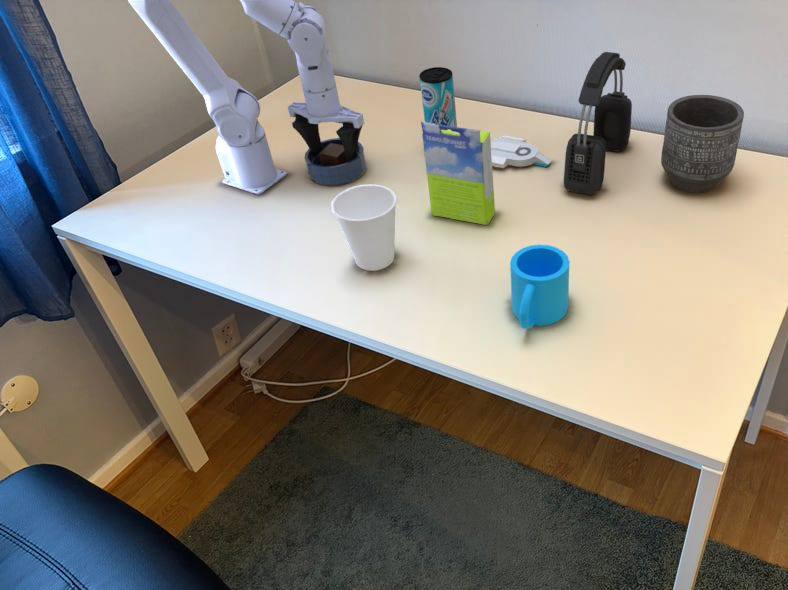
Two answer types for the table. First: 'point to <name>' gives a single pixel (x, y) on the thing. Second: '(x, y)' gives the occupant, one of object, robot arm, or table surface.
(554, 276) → the mug
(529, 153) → the toy rocket
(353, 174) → the bowl
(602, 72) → the headphones
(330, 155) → the block
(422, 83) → the blue printed cylinder
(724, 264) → the table surface
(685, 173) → the planter
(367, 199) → the cup
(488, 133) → the box
